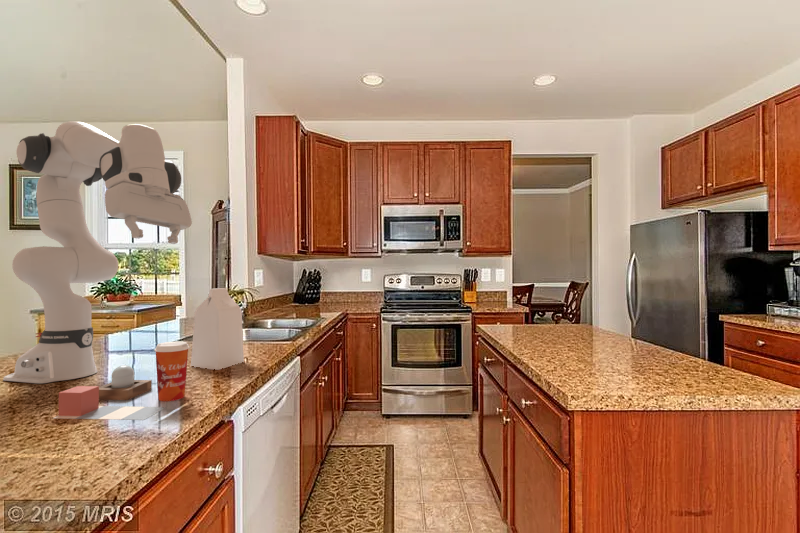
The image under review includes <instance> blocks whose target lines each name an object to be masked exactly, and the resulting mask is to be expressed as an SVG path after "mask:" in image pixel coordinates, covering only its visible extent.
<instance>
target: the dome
mask: <svg viewBox="0 0 800 533" xmlns="http://www.w3.org/2000/svg"><path fill="white" fill-rule="evenodd" d="M134 380H135V370H134V368H132V366H130V365H126V364H124V365H119V366H117V367H115V369H114V370H113V371H112V373H111V382H112V388H127V387H130V386H132V385H134Z"/></svg>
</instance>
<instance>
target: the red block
mask: <svg viewBox="0 0 800 533" xmlns="http://www.w3.org/2000/svg"><path fill="white" fill-rule="evenodd" d="M99 387H100V386H99V385H97V386H96V385H95V386H94V385H89V386H88V385H77V386H74V387H71V388H68V389H66V390H61V391H60V392H58V414H57V416H82V415H84V414H87V413H89V412H91V411H93V410H96V409H98V408H99V406H100V404H99V403H100V400H99Z"/></svg>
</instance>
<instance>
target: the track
mask: <svg viewBox="0 0 800 533" xmlns="http://www.w3.org/2000/svg"><path fill="white" fill-rule="evenodd" d="M165 409H167V406H131V405H130V406H127V405H125V406H122V405H121V406H120V405H119V406H118V405H113V406H111V405H99V408H98V409H96V410H93V411H91V412H89V413H87V414H84V415H82V416H58V415H56V416H55V417H53V419H65V420H66V419H68V420H71V419H72V420H73V419H74V420H114V421H115V420H121V421H123V420H126V421H145V420H147V419H149V418H150V417H152V416H154V415H155V414H157V413H160V412H161V411H162V410H165Z"/></svg>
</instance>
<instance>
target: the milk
mask: <svg viewBox="0 0 800 533" xmlns="http://www.w3.org/2000/svg"><path fill="white" fill-rule="evenodd" d="M193 317H194V318H193V331H192V344H191V345H192V346H191V358H190V367H191V366H194V367H193V368H196V367H200V368H199V369H205V368H207V369H206V370H214V369H215V371H219V370H222V368H223V369H225V368H228V367H232V365H233V366H235V364H236V365H239V364H242V362H243V363H244V362H245V359H244V358H245V357H244V355H245V354H244V338H243V337H244V333H243V332H244V331H243V312H242V308H241V306H239V304H238V303H237V302H235V300H234V299H233V298H232V297H231V296H230V295H229V291H228V289H227V287H224V288H223V287H222V288H220V287H219V288H218V287H217V288H210V289H209V294H208V297H206V299H205V300H204V301H203V302H201V303H200V305H199V306H198V307H197V308H196V309H195V311H194V316H193ZM238 363H239V364H238Z"/></svg>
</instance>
